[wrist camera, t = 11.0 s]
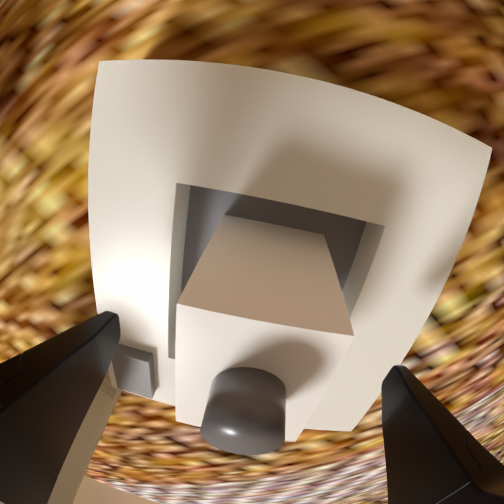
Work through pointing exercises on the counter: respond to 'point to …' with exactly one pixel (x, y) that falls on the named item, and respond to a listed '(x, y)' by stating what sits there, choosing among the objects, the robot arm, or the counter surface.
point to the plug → (258, 335)
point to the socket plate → (271, 205)
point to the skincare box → (85, 444)
